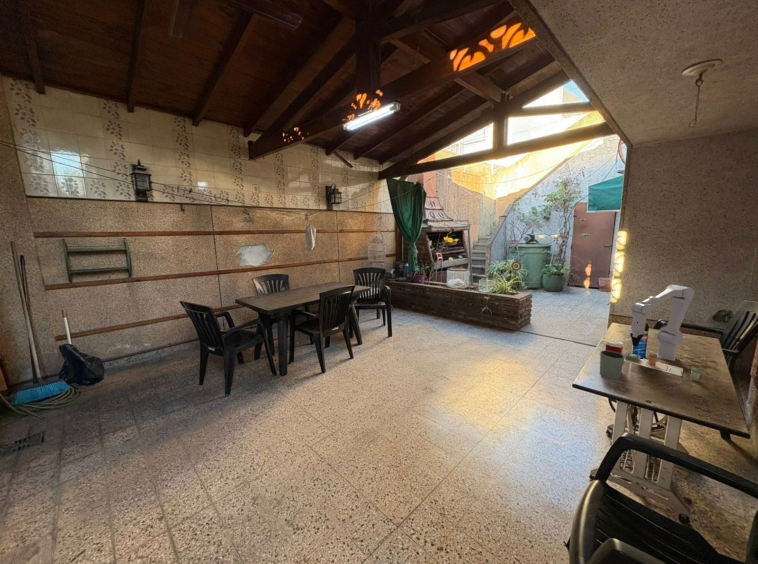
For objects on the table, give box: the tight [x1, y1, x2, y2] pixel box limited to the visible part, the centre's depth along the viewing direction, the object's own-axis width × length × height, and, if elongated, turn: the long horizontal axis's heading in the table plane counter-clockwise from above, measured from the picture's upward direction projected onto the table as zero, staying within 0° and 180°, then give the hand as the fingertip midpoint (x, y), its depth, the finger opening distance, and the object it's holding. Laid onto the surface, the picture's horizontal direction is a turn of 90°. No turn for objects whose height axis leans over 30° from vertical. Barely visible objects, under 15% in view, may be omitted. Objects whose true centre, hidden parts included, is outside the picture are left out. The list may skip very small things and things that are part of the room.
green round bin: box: [599, 350, 626, 380], centre depth 153 cm, size 10×10×12 cm
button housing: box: [624, 352, 642, 363], centre depth 170 cm, size 6×6×2 cm
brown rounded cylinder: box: [647, 352, 658, 366], centre depth 163 cm, size 3×3×6 cm
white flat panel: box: [624, 358, 684, 378], centre depth 164 cm, size 12×24×1 cm, turn 41°
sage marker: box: [689, 367, 702, 383], centre depth 147 cm, size 3×3×6 cm
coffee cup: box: [604, 339, 625, 355], centre depth 161 cm, size 8×8×15 cm
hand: (635, 345), depth 169 cm, fingers closed
